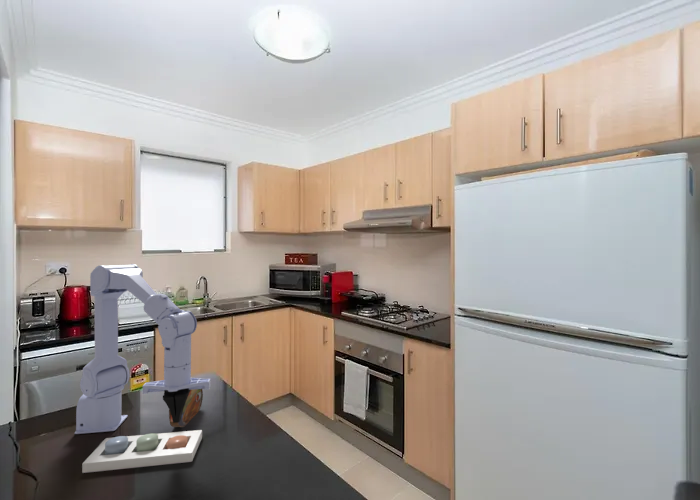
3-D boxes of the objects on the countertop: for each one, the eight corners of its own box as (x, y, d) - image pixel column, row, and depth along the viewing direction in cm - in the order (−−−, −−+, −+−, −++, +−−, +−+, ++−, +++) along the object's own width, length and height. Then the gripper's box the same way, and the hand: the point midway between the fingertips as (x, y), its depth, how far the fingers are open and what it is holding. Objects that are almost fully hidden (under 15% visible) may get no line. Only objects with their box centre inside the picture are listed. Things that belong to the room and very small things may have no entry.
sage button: (133, 455, 78) (133, 444, 78) (140, 444, 83) (140, 434, 83) (154, 453, 79) (154, 442, 79) (160, 442, 84) (160, 432, 84)
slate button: (101, 458, 77) (101, 447, 77) (110, 447, 81) (110, 436, 81) (122, 456, 78) (122, 445, 78) (131, 445, 82) (131, 435, 82)
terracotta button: (164, 456, 80) (164, 446, 80) (170, 446, 84) (170, 436, 84) (184, 454, 80) (184, 444, 80) (189, 444, 85) (189, 434, 85)
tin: (178, 433, 90) (178, 401, 90) (166, 433, 90) (166, 401, 90) (203, 406, 105) (204, 379, 105) (193, 406, 105) (193, 379, 105)
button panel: (82, 472, 74) (82, 463, 74) (105, 446, 84) (105, 438, 84) (192, 461, 78) (192, 452, 78) (202, 437, 88) (202, 429, 88)
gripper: (137, 371, 77) (136, 432, 77) (206, 367, 80) (206, 426, 80) (149, 360, 84) (148, 416, 84) (212, 357, 86) (212, 411, 87)
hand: (177, 420), depth 82 cm, fingers closed
